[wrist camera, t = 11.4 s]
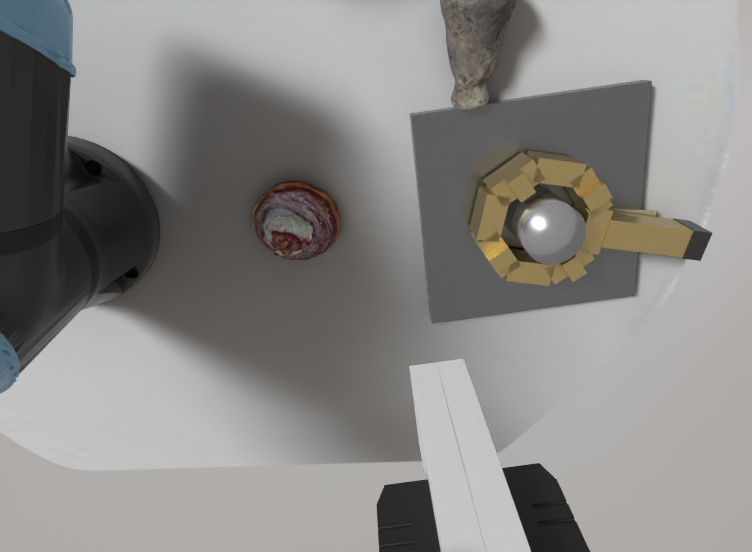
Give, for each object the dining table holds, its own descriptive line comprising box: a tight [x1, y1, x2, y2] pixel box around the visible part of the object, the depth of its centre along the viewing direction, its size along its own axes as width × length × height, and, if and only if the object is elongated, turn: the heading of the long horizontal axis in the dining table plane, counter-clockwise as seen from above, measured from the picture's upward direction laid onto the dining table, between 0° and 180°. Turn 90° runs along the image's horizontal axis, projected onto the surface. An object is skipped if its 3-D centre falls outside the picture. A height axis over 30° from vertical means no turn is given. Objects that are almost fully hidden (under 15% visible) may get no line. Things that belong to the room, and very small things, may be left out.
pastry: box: [252, 181, 340, 260], centre depth 46 cm, size 8×8×5 cm
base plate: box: [410, 80, 657, 323], centre depth 45 cm, size 21×20×7 cm
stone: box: [440, 0, 516, 111], centre depth 41 cm, size 10×6×8 cm
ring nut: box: [469, 150, 712, 286], centre depth 46 cm, size 20×11×4 cm, turn 82°
